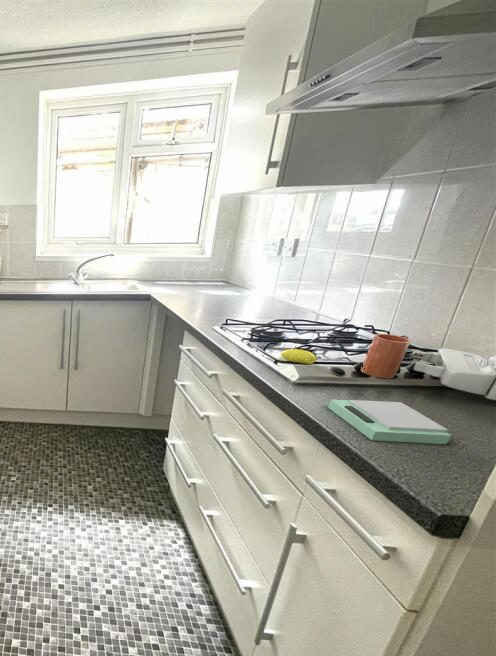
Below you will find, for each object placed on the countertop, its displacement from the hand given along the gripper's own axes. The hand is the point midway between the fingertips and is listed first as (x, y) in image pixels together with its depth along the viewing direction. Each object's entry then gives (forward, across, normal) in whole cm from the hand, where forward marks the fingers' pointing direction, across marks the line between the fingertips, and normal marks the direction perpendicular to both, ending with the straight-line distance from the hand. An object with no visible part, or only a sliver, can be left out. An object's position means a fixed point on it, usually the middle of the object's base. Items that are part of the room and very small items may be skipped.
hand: (413, 360), depth 101 cm
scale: (+4, +33, +6) cm, 33 cm away
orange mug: (+5, 0, +6) cm, 8 cm away
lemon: (+22, +4, +6) cm, 23 cm away
